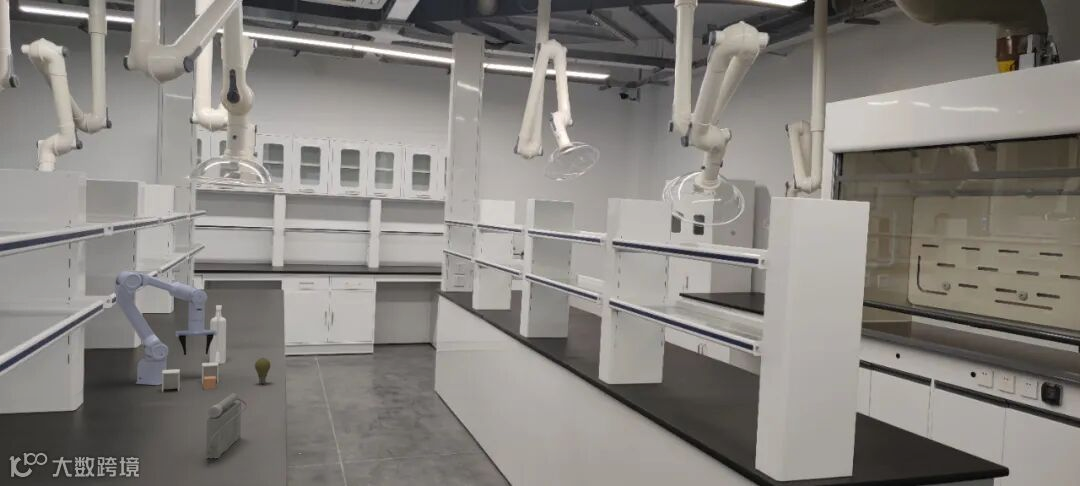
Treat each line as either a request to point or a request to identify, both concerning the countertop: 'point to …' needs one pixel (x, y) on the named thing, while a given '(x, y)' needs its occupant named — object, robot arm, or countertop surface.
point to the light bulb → (262, 369)
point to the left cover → (171, 379)
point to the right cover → (210, 370)
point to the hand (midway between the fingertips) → (195, 354)
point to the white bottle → (218, 337)
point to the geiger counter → (223, 425)
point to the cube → (210, 382)
